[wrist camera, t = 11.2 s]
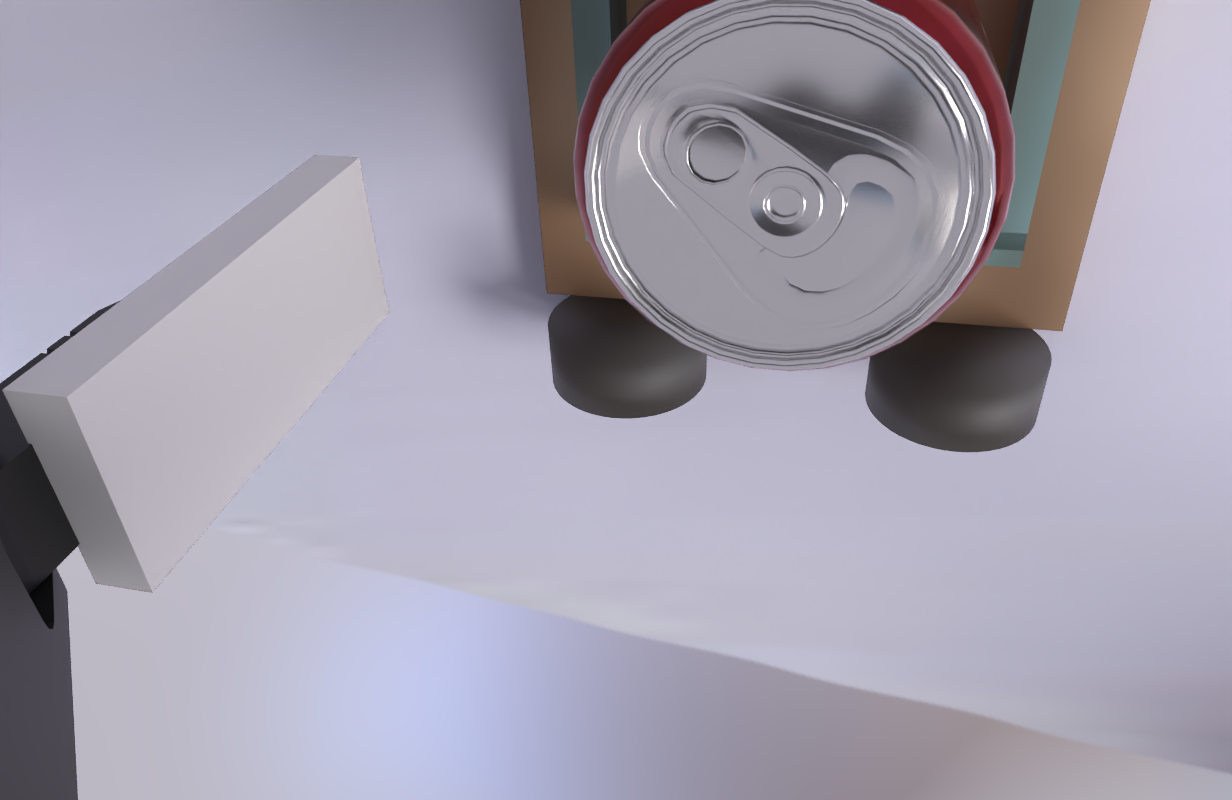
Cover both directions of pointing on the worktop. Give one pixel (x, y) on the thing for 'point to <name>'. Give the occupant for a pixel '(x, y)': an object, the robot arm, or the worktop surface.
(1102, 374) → the worktop surface
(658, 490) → the worktop surface
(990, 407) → the chassis
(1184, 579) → the worktop surface
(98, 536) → the robot arm
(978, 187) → the soda can
